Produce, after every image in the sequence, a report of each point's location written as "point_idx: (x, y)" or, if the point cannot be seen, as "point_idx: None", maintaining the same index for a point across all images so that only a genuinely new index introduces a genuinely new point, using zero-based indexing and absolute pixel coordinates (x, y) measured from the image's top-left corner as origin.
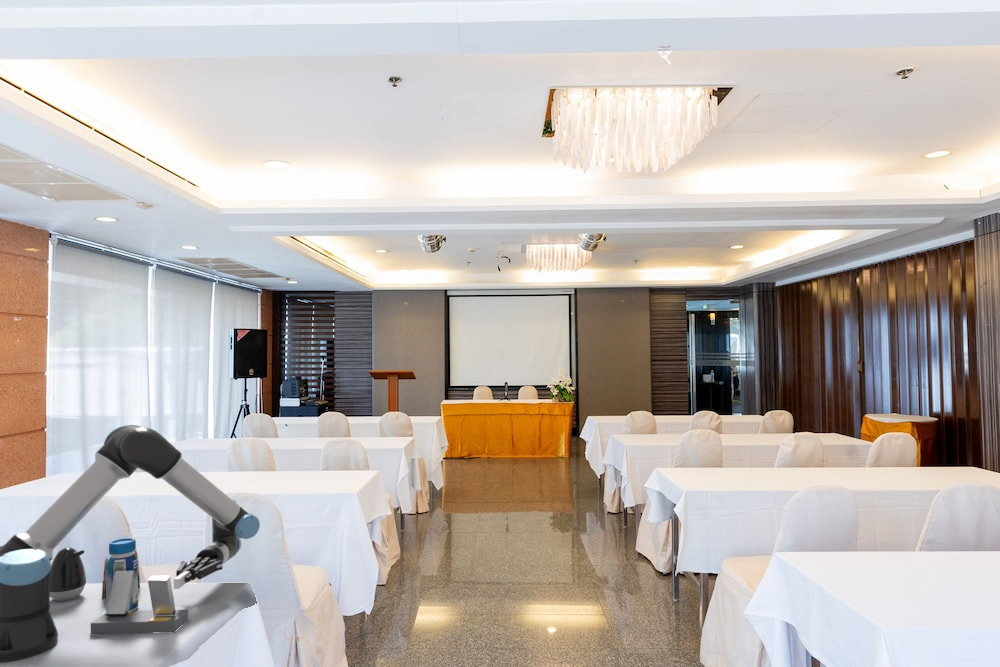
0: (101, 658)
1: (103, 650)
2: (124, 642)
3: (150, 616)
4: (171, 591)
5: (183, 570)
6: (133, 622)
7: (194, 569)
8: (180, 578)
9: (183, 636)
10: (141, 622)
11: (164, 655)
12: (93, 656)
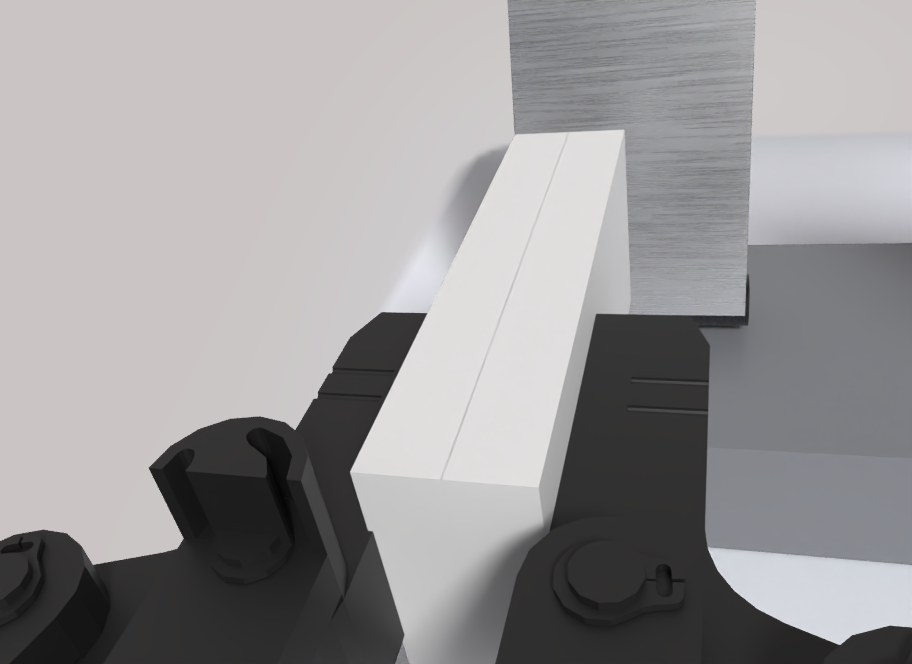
0: (831, 134)
1: (907, 181)
2: (836, 243)
3: (794, 322)
4: (513, 28)
5: (621, 586)
6: (892, 245)
7: (170, 495)
8: (501, 173)
9: (420, 287)
10: (806, 249)
11: (478, 157)
12: (908, 143)
